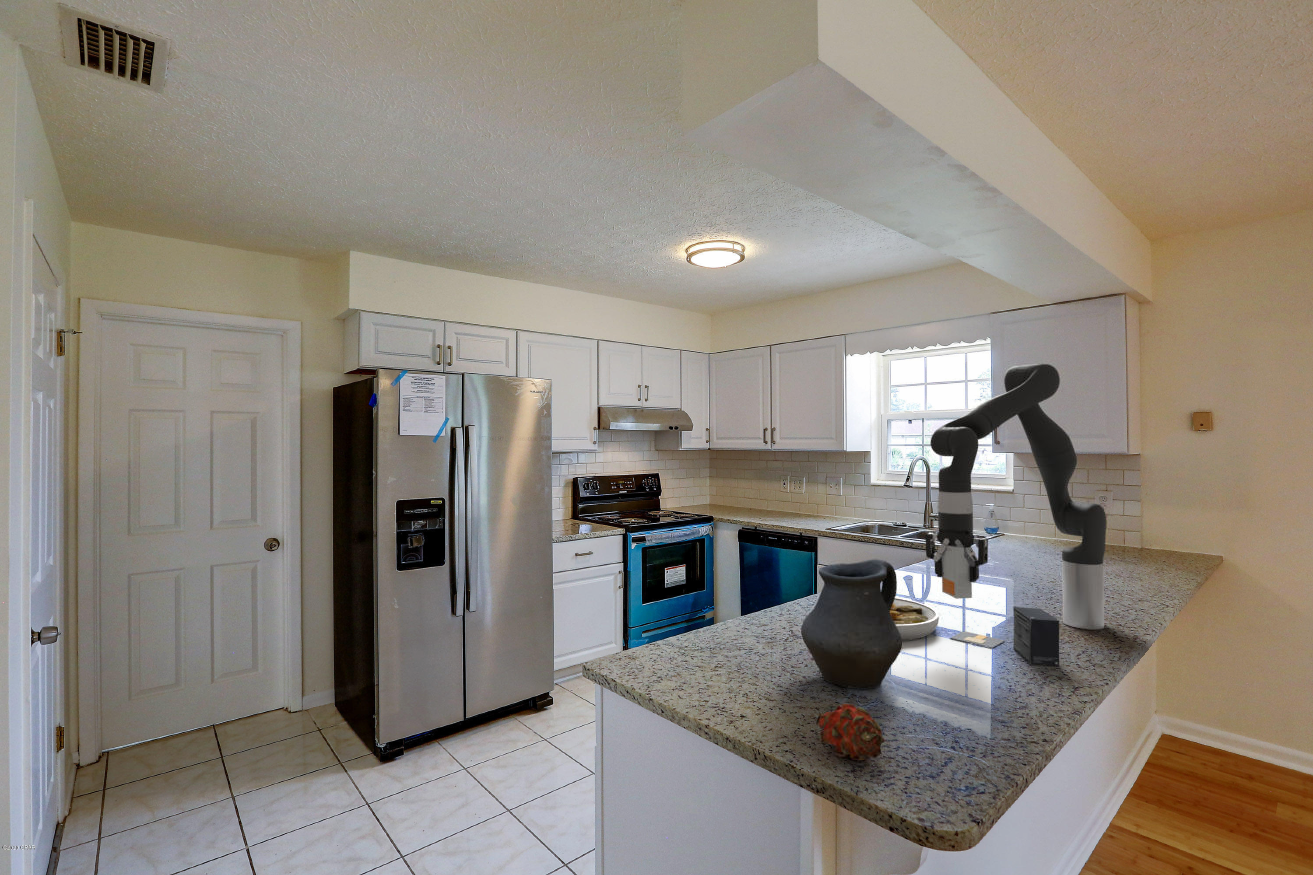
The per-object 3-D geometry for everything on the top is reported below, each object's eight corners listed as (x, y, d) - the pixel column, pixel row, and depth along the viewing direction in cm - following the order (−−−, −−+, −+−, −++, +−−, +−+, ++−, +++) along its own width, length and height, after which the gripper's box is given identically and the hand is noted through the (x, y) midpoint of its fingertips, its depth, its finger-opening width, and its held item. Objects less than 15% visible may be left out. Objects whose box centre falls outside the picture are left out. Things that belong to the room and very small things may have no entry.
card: (963, 632, 161) (963, 630, 161) (1005, 641, 153) (1005, 639, 153) (950, 638, 156) (950, 637, 156) (992, 648, 148) (992, 647, 148)
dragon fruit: (884, 783, 93) (820, 763, 103) (904, 735, 98) (841, 720, 108) (858, 746, 91) (795, 729, 101) (880, 699, 96) (818, 687, 105)
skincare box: (941, 592, 150) (940, 543, 150) (958, 591, 150) (957, 542, 150) (955, 598, 144) (954, 547, 144) (972, 598, 144) (971, 547, 144)
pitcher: (782, 671, 135) (781, 558, 135) (859, 656, 143) (858, 550, 144) (845, 708, 116) (844, 576, 116) (930, 689, 125) (929, 566, 125)
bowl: (946, 621, 172) (945, 593, 172) (929, 652, 147) (928, 620, 147) (839, 606, 188) (838, 580, 188) (806, 632, 163) (806, 603, 163)
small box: (1062, 667, 136) (1061, 620, 136) (1029, 665, 137) (1029, 618, 137) (1042, 651, 146) (1041, 607, 146) (1012, 649, 148) (1011, 605, 148)
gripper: (993, 511, 144) (994, 581, 144) (932, 506, 155) (933, 572, 155) (980, 514, 139) (981, 587, 139) (918, 509, 150) (919, 576, 150)
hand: (956, 578), depth 147 cm, fingers closed on skincare box, 7 cm apart
